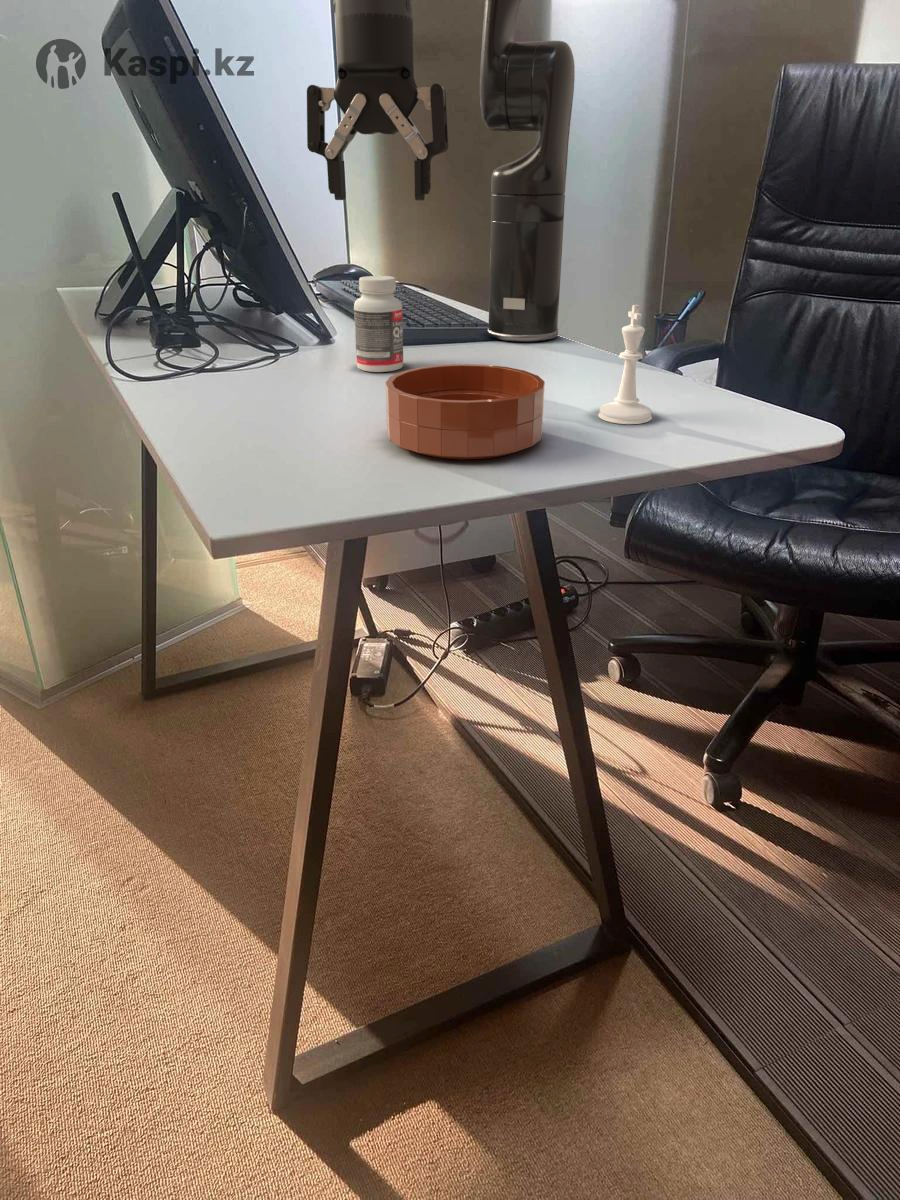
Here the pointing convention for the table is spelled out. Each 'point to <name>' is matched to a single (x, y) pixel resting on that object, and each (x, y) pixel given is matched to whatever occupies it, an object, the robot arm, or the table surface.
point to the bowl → (464, 410)
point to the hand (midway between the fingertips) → (379, 200)
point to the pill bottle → (378, 325)
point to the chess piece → (628, 380)
